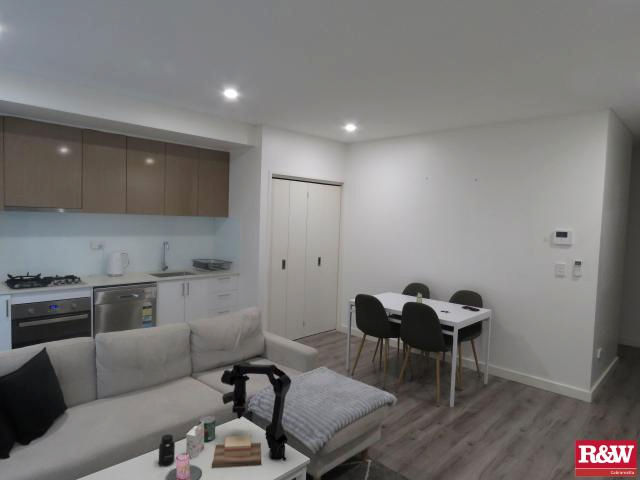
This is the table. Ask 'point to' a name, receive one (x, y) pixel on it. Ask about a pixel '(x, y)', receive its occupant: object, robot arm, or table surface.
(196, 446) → the ink cartridge box
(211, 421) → the canned tomato
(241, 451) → the kraft carton
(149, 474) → the table surface
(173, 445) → the supplement bottle
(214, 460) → the display board
